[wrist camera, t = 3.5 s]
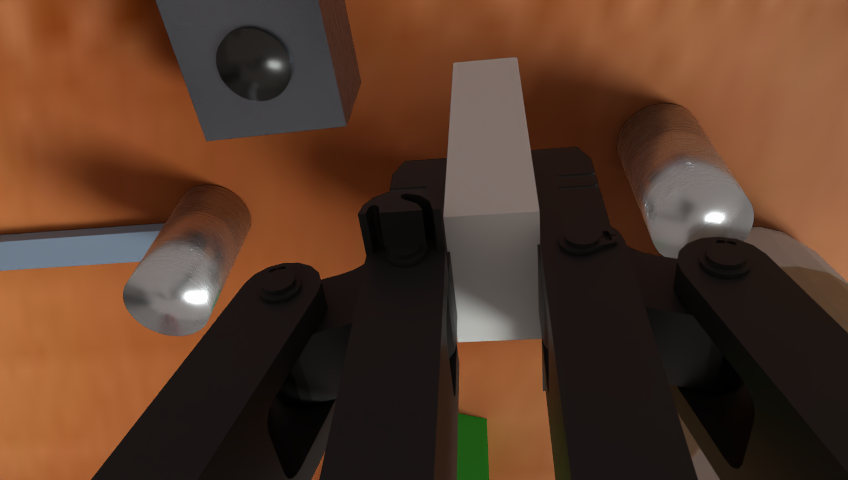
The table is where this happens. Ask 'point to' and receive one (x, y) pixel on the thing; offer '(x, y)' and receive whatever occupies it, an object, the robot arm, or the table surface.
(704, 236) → the spacers
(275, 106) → the speaker
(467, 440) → the mechanical part
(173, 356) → the table surface
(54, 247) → the blue-grey flat plate
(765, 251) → the coffee cup
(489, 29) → the table surface
